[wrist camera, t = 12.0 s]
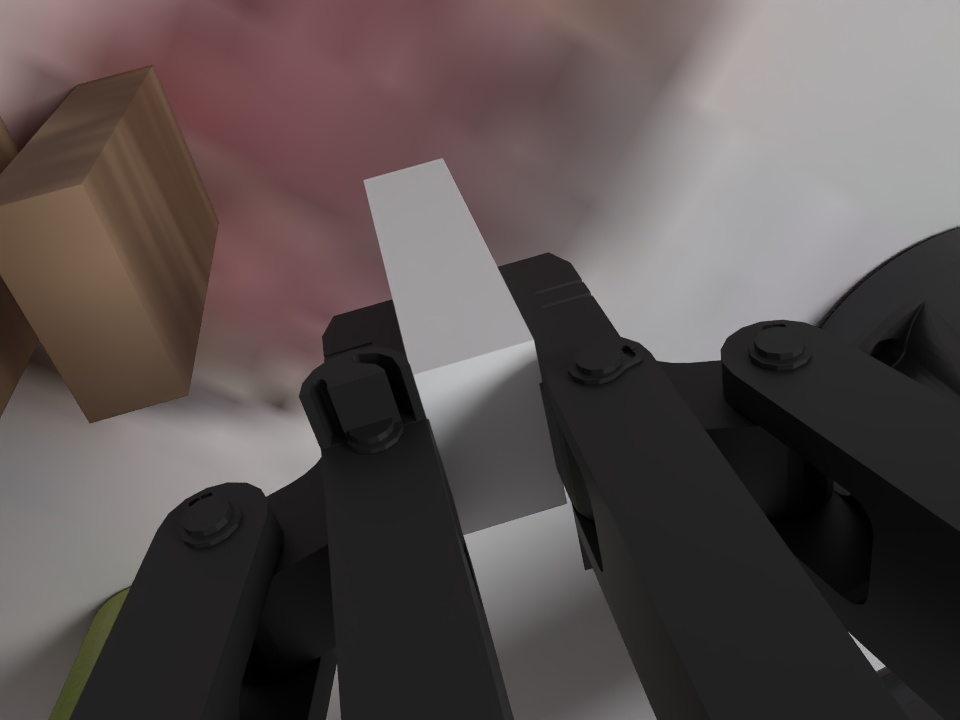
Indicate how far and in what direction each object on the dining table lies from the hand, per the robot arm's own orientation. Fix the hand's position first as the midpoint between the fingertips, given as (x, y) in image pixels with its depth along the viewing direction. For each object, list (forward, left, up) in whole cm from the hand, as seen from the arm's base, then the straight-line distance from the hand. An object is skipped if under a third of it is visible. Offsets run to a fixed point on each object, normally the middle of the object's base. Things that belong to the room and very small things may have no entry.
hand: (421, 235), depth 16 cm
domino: (+7, 0, -12) cm, 13 cm away
